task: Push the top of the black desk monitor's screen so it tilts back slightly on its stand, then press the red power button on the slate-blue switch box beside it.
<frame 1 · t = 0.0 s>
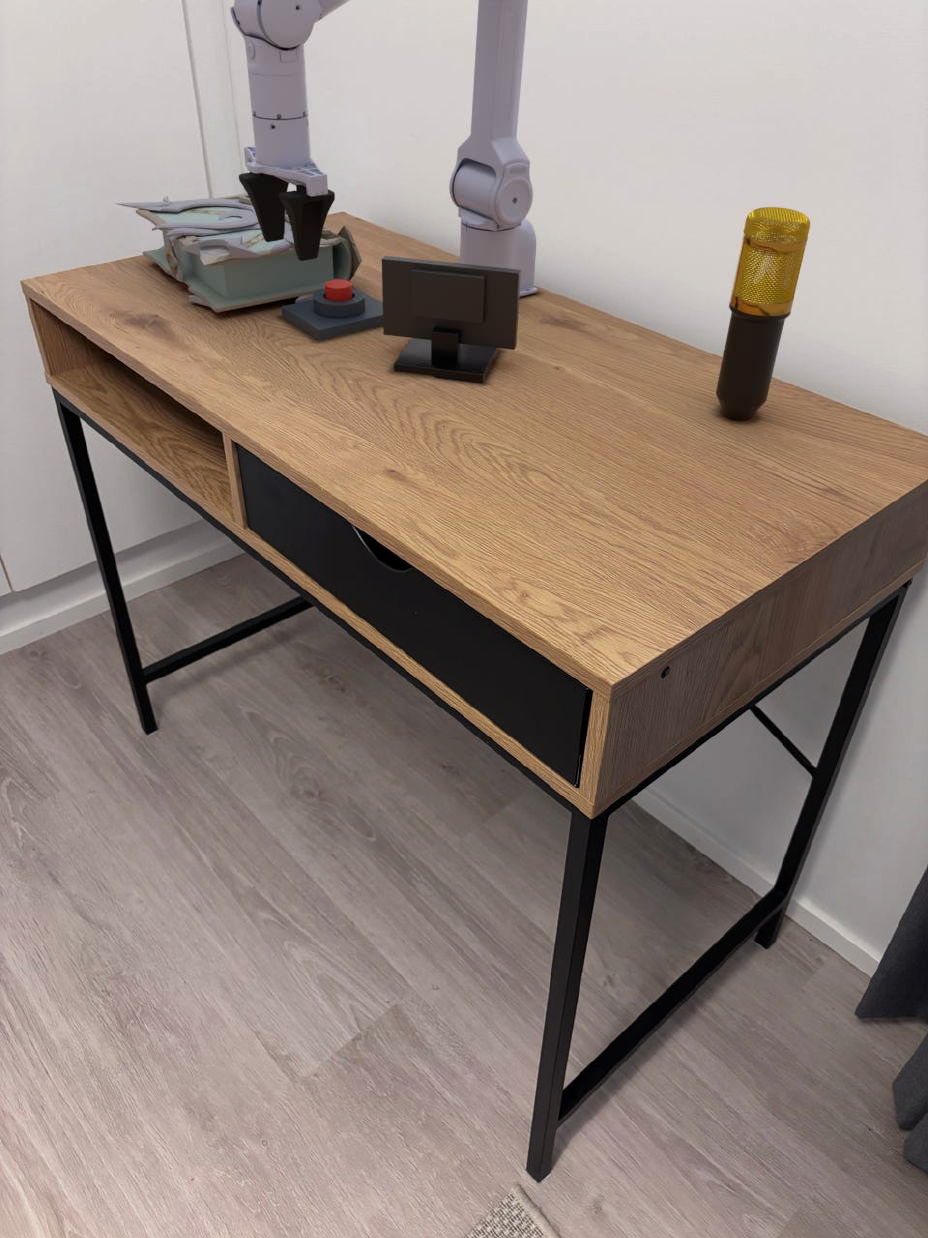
hand: (290, 249, 110), 10 cm above the table, tool pointing down, fingers open, 7 cm apart
switch box: (340, 319, 121), on the table
microphone: (711, 402, 106), on the table
power button: (338, 290, 119), point 4 cm above the table, slide at 0.2 cm
monitor stand: (449, 359, 113), on the table
ornate book: (242, 278, 132), on the table
screen: (449, 304, 108), point 6 cm above the table, hinge at 0.0°
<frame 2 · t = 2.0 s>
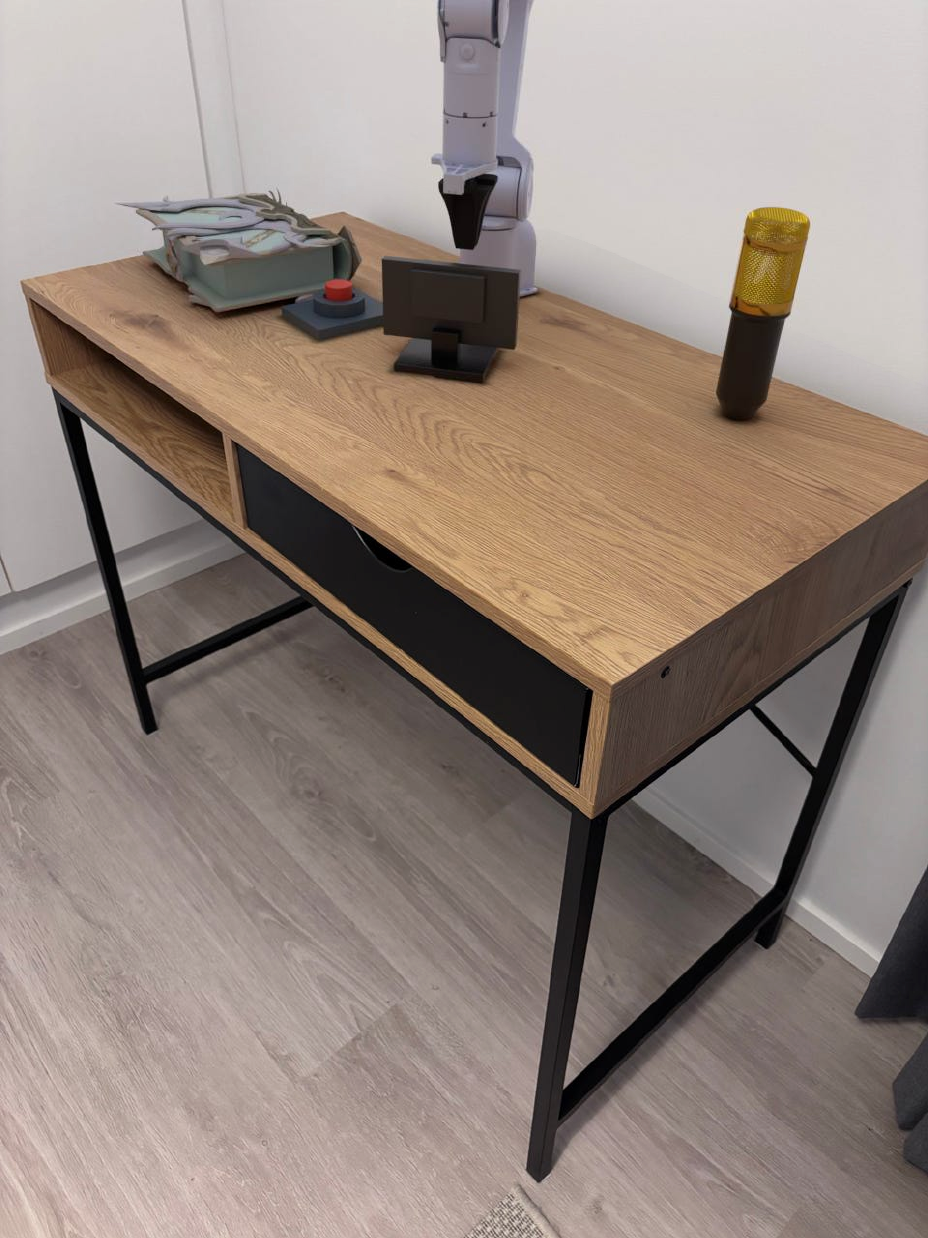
hand: (466, 246, 112), 10 cm above the table, tool pointing down, fingers closed
nothing on the table moved.
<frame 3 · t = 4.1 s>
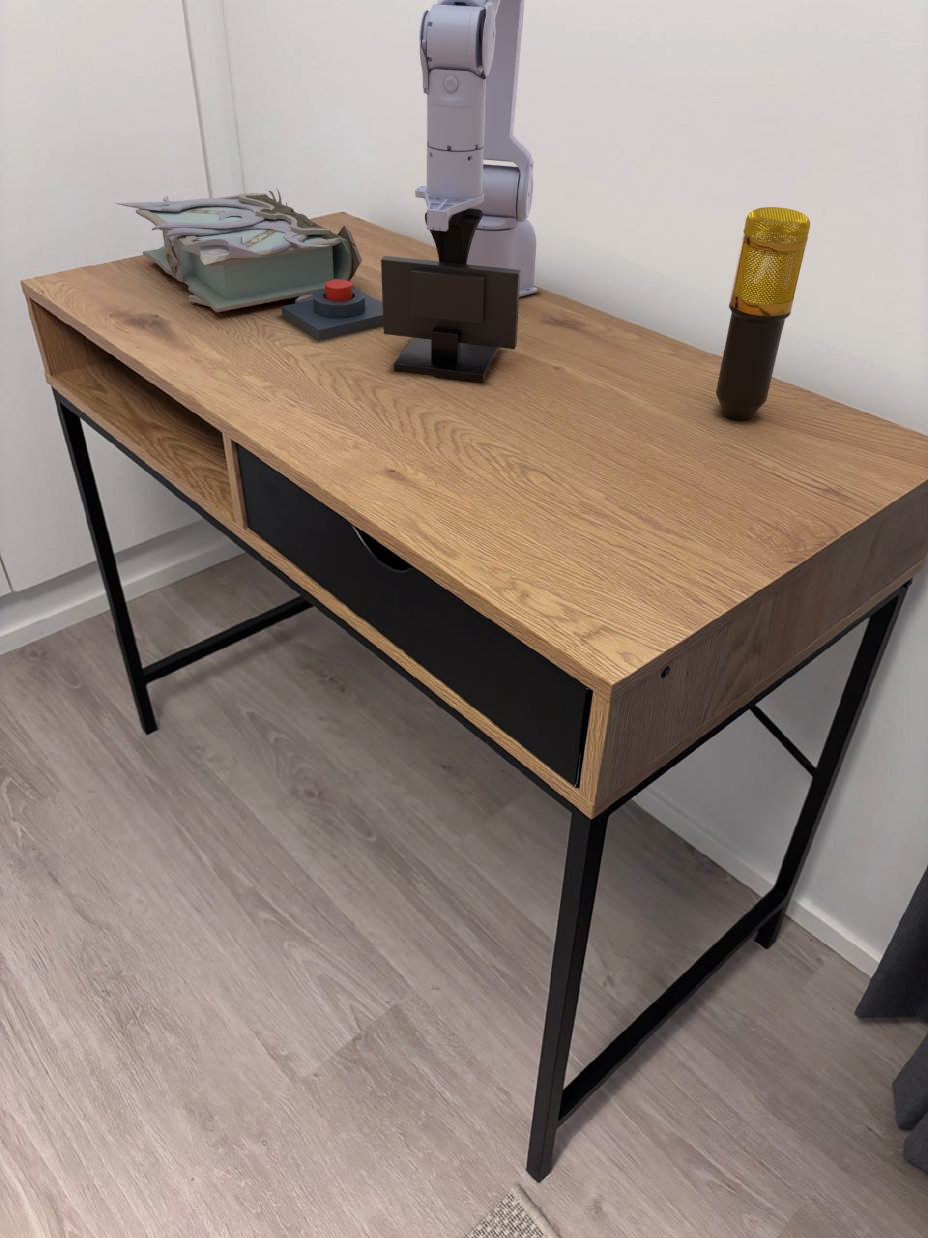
hand: (452, 281, 108), 9 cm above the table, tool pointing down, fingers closed, pressing on screen
screen: (449, 304, 108), point 7 cm above the table, hinge at 2.4°, touching gripper
everything else where it was.
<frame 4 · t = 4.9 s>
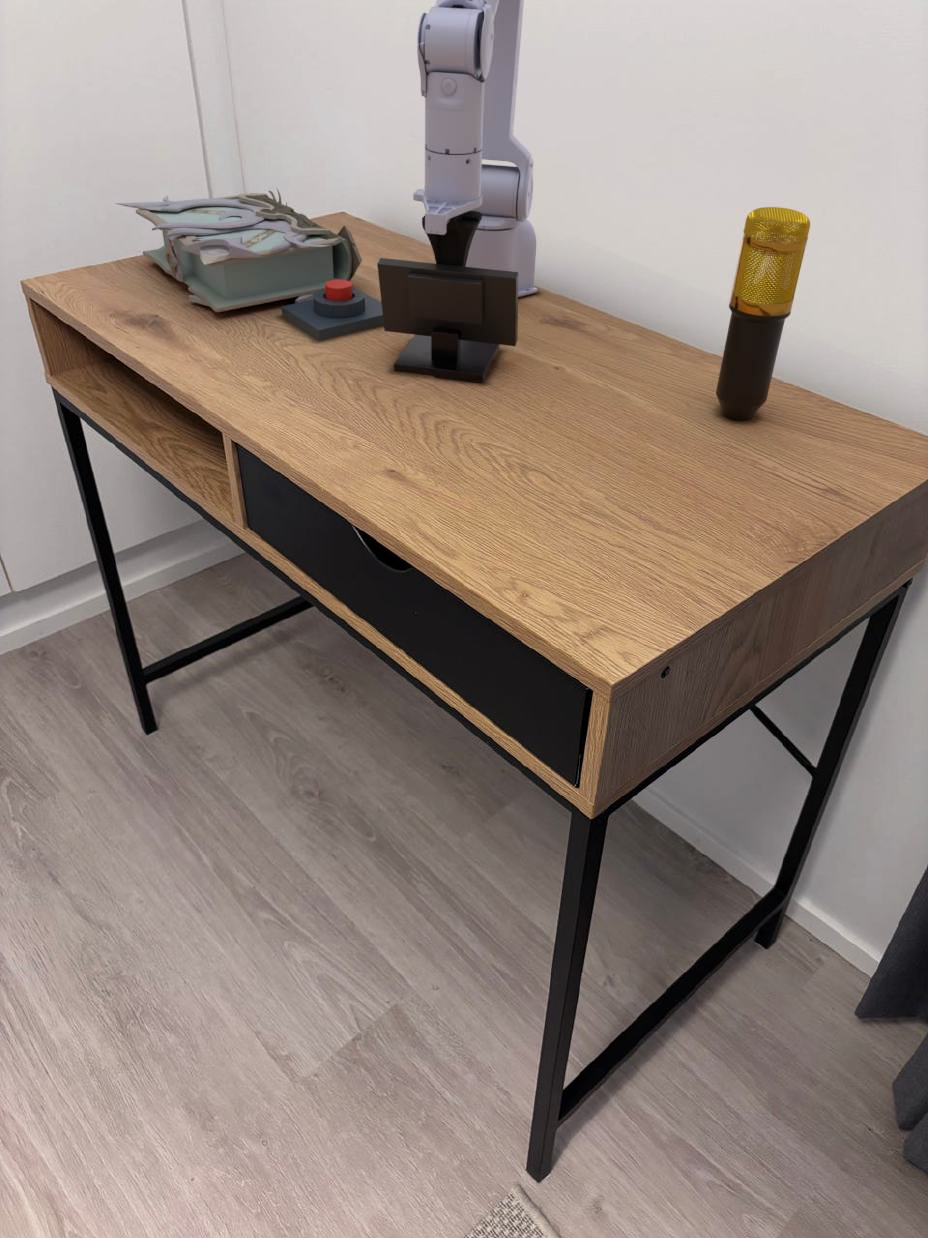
hand: (450, 284, 108), 8 cm above the table, tool pointing down, fingers closed
screen: (448, 304, 108), point 7 cm above the table, hinge at 14.2°, touching gripper
everything else where it was.
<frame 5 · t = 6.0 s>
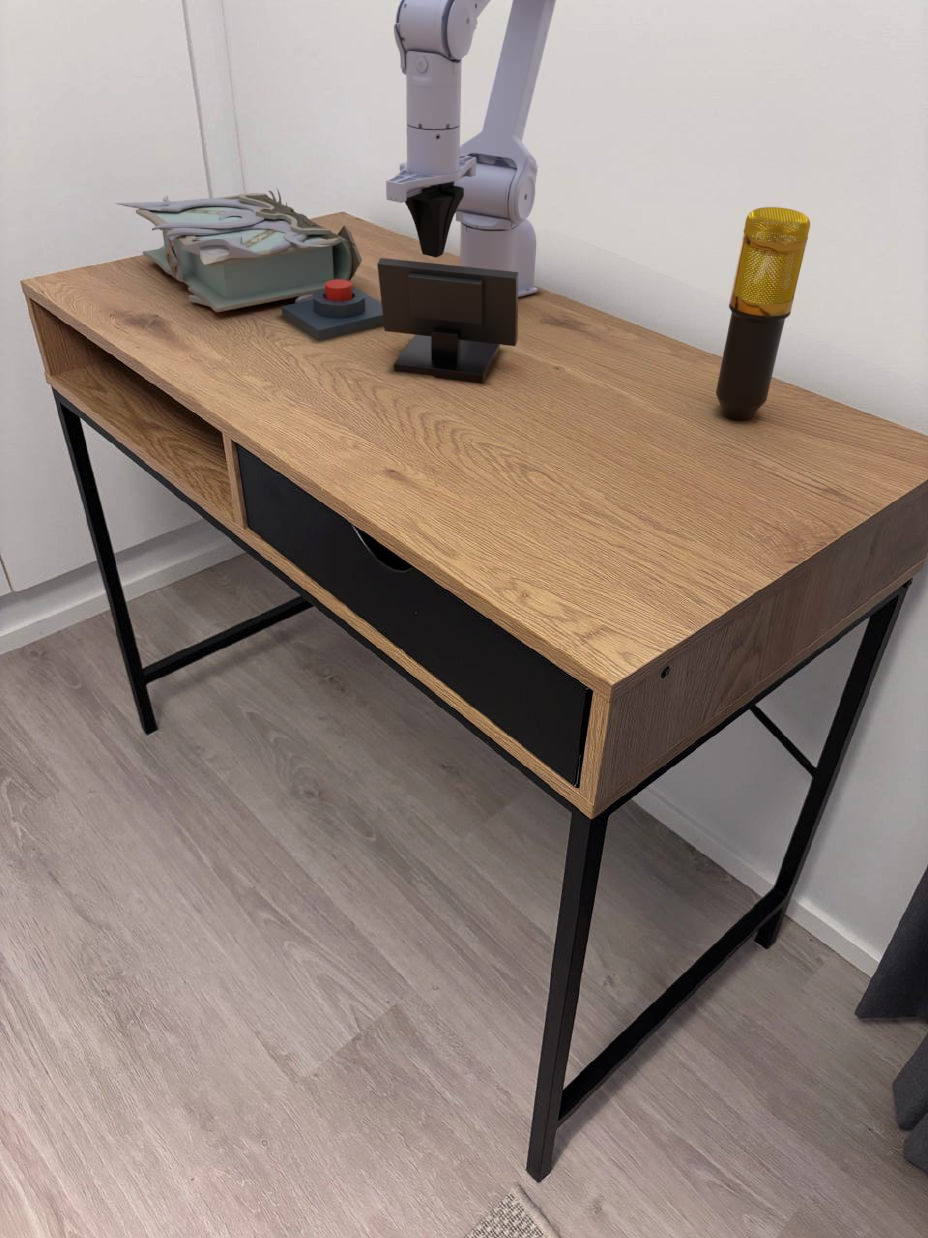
hand: (432, 254, 114), 9 cm above the table, tool pointing down, fingers closed
screen: (448, 304, 108), point 7 cm above the table, hinge at 14.2°
everything else where it was.
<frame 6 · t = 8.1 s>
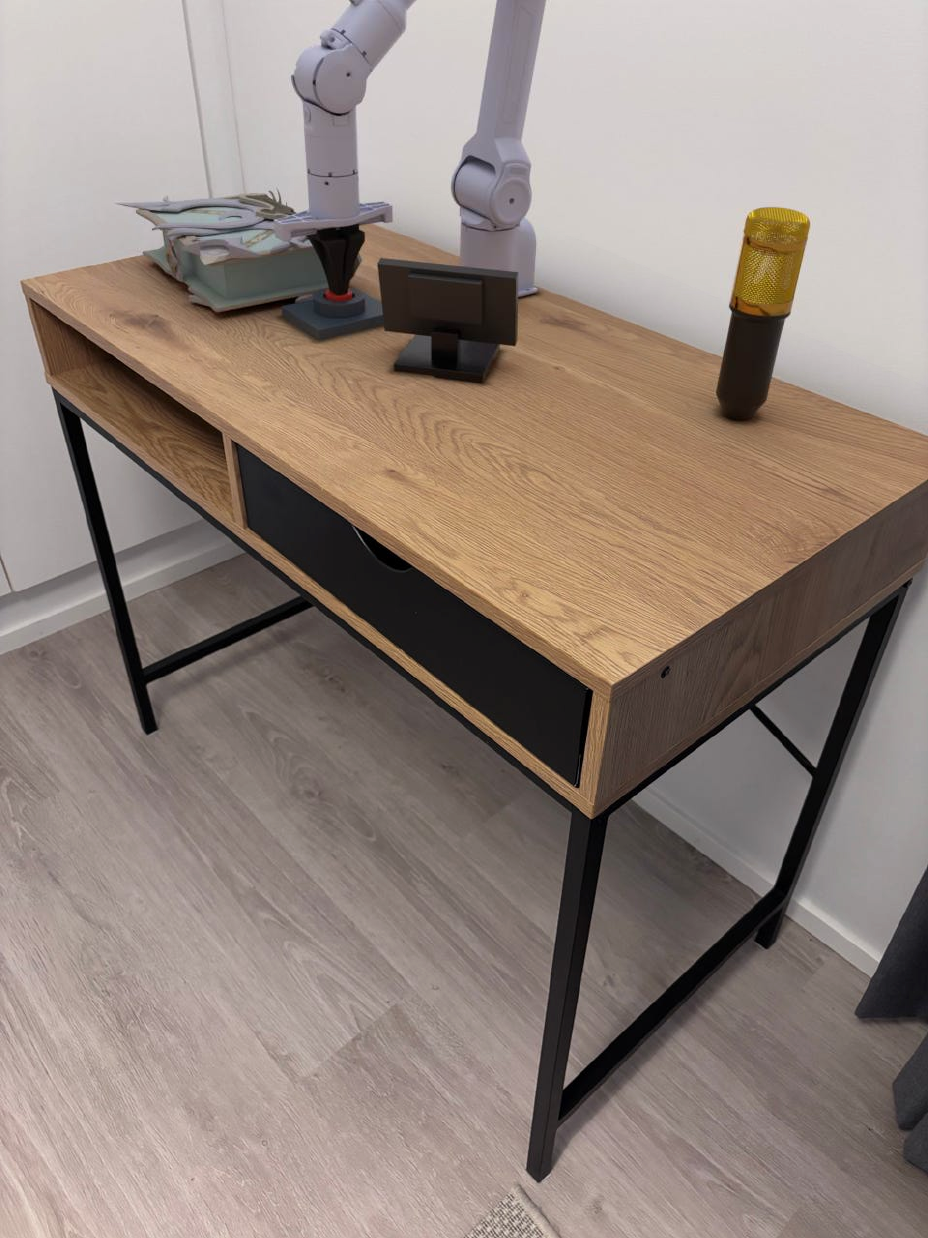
hand: (338, 292, 119), 3 cm above the table, tool pointing down, fingers closed, pressing on power button
power button: (339, 299, 120), point 3 cm above the table, slide at -0.8 cm, touching gripper
everything else where it was.
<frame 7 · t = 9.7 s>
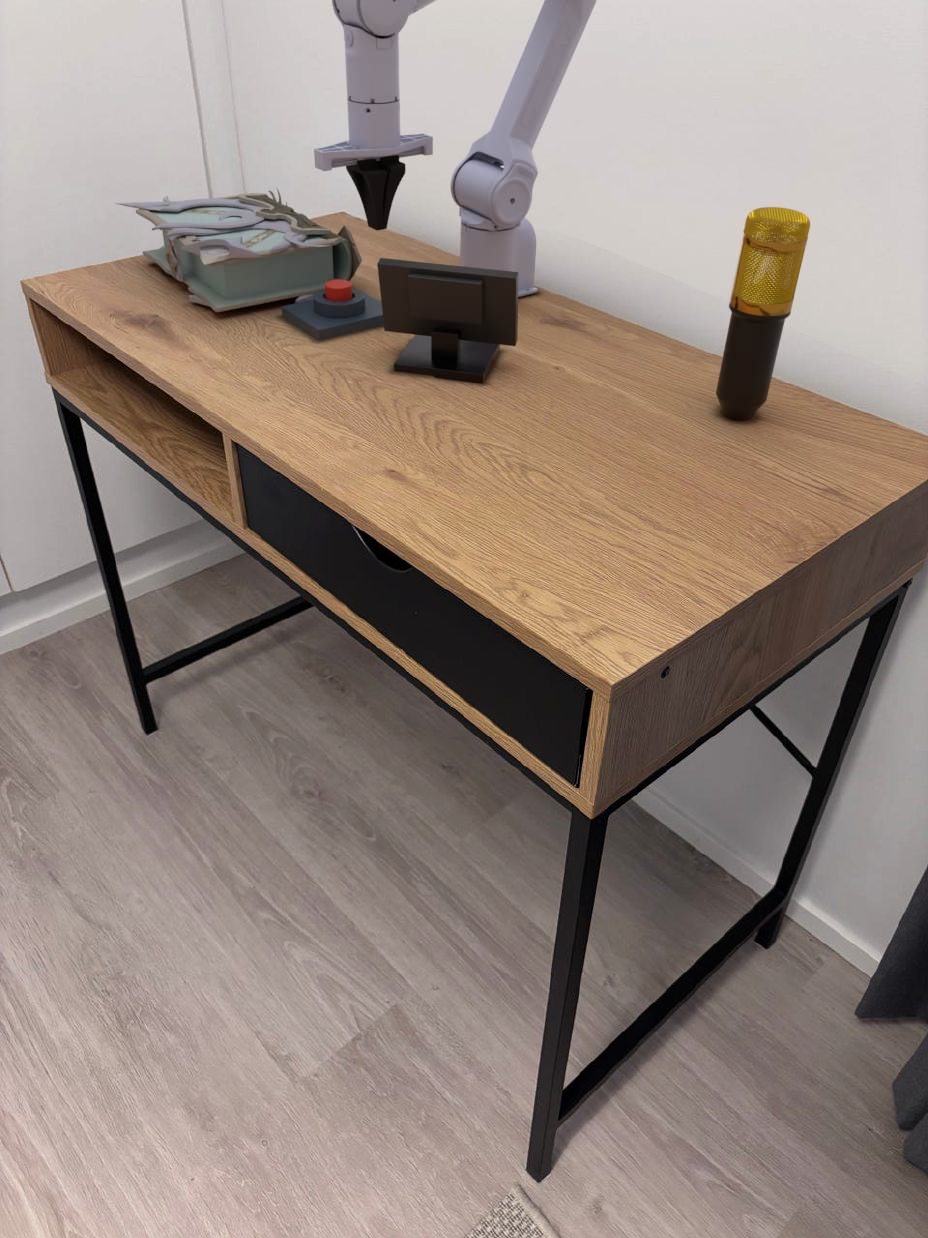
hand: (377, 227, 117), 10 cm above the table, tool pointing down, fingers closed
power button: (338, 290, 119), point 4 cm above the table, slide at 0.2 cm
everything else where it was.
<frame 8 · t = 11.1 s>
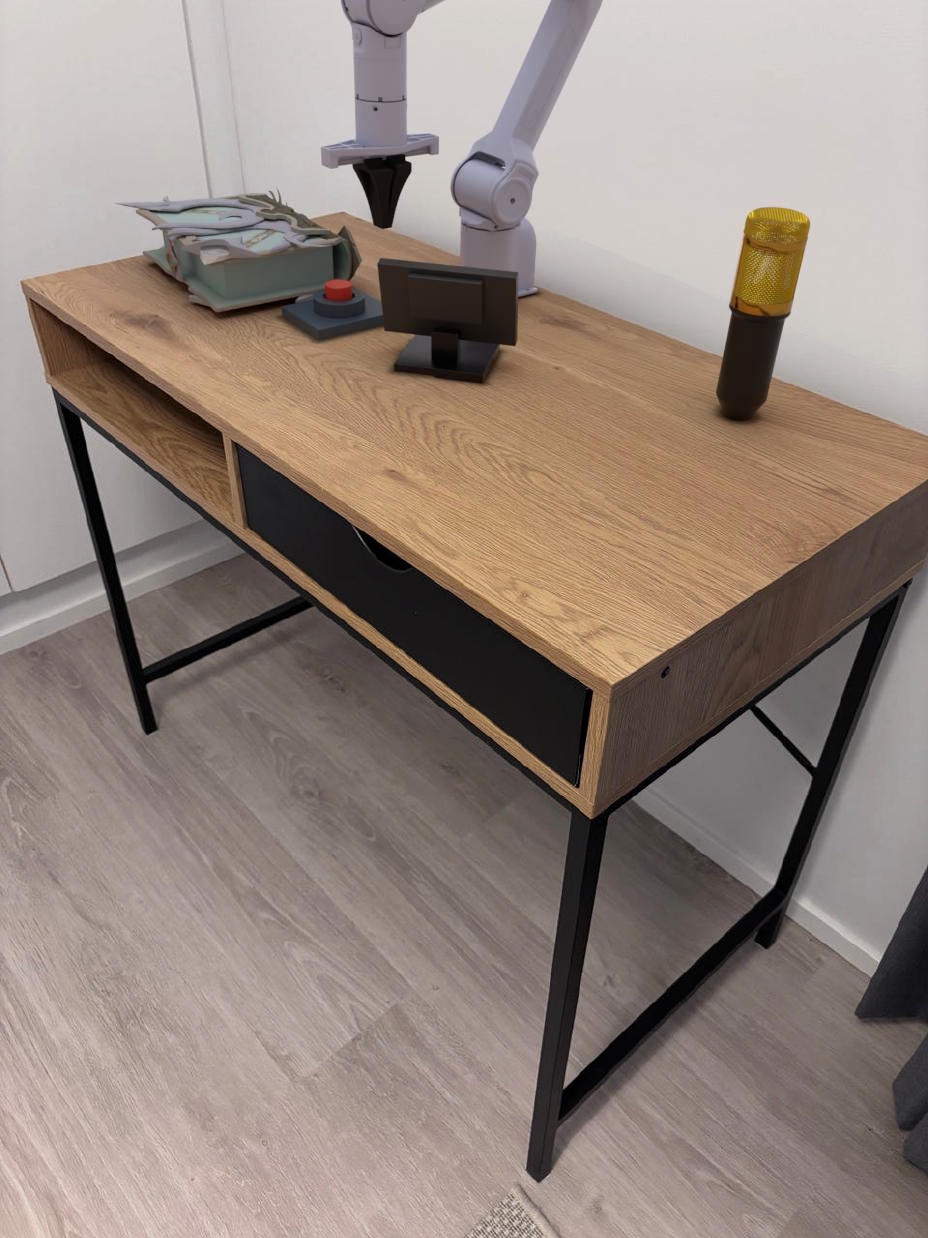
hand: (382, 226, 117), 10 cm above the table, tool pointing down, fingers closed
nothing on the table moved.
at the end: screen at +14° (first picture: +0°); power button pushed in 1.0 cm at the most during the clip, back to 0.2 cm at the end; power button slide at 0.2 cm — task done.
